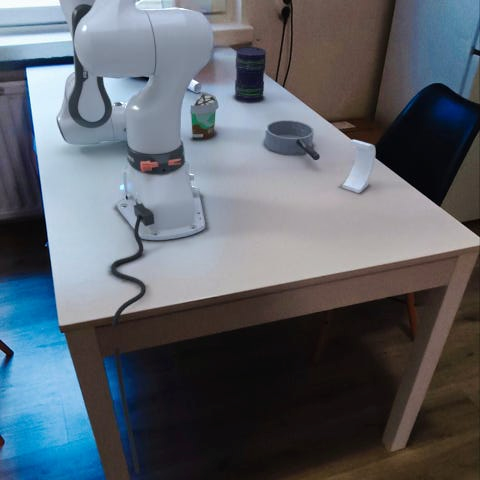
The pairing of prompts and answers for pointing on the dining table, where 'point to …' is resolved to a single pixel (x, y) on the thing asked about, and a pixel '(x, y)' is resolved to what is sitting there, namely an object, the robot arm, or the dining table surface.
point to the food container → (203, 116)
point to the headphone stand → (361, 166)
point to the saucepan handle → (308, 149)
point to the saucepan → (288, 136)
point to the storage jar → (250, 74)
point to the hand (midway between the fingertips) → (171, 119)
